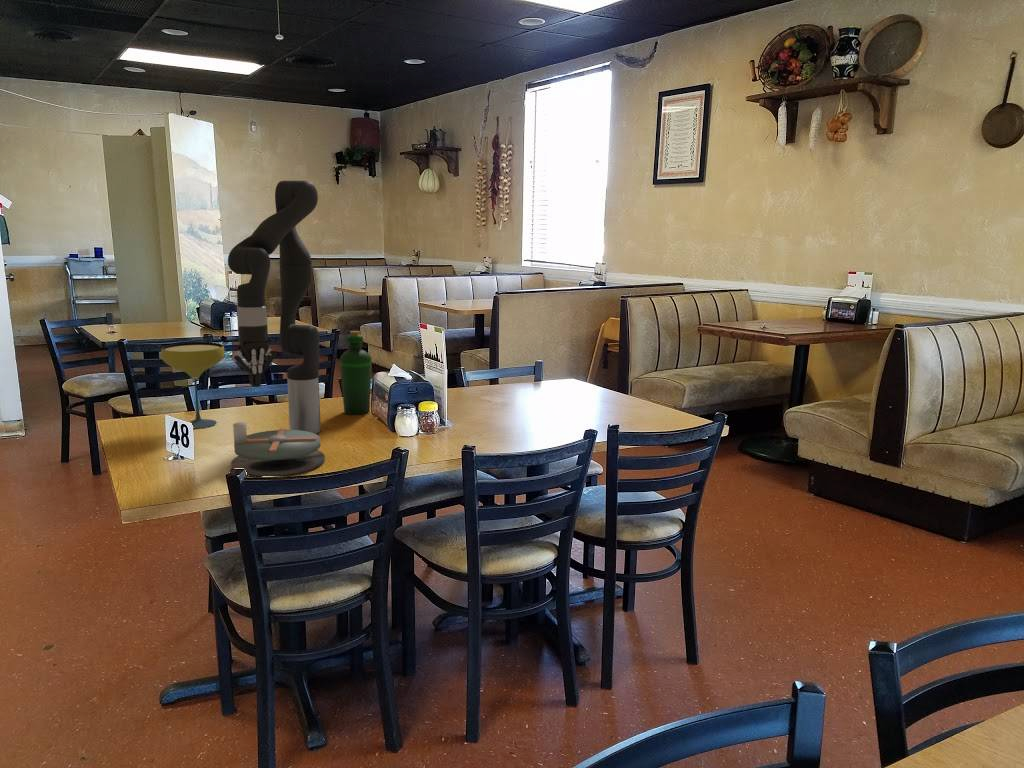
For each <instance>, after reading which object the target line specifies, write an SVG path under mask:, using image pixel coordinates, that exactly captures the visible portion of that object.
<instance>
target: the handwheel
mask: <svg viewBox="0 0 1024 768" xmlns="http://www.w3.org/2000/svg"><path fill="white" fill-rule="evenodd" d="M232 428H233V446H234V454H235V455H237V456H240V457H243V458H247V459H253V460H283V459H291V458H296V457H301V456H305V455H308V454H310V453H313V452H315V451H316V450H319V449H320V447H321V437H320V436H319V435H318V433H316V434H314V433H311V432H307V431H300V430H290V429H286V428H279V429H275V430H265V431H260V432H254V433H251V434H247V423H246V422H241V421H239V422H235V423H233V424H232Z"/></svg>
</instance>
